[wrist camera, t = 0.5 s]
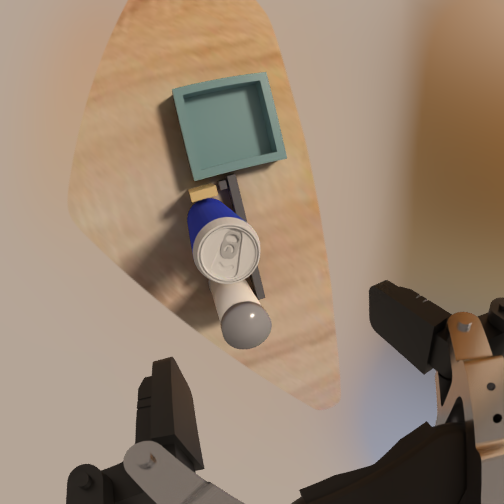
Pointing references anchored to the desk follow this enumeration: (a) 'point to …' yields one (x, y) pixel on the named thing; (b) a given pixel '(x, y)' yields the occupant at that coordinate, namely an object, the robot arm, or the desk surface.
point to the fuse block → (211, 191)
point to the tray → (228, 124)
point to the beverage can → (222, 242)
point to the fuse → (240, 314)
